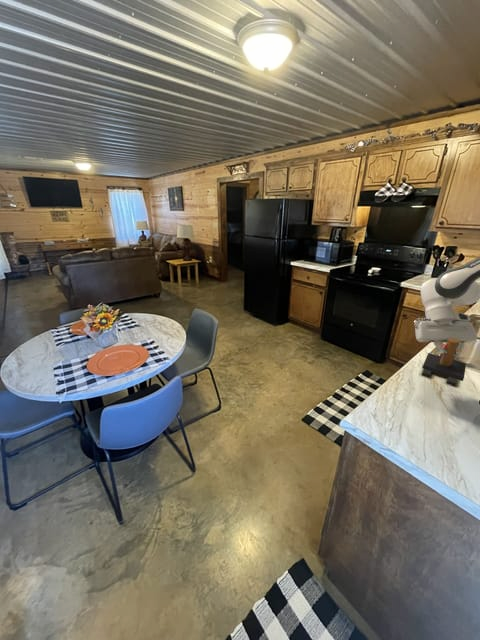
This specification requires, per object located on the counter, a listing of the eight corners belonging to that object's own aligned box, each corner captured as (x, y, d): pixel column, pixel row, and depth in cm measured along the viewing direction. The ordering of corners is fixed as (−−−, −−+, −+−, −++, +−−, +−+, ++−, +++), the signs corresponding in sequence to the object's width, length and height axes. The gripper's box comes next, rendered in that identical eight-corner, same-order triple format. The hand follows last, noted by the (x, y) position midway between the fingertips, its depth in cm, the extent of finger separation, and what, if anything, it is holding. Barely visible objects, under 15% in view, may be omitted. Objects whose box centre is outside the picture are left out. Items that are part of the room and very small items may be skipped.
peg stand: (428, 352, 109) (437, 327, 104) (465, 362, 102) (476, 336, 97) (422, 368, 98) (431, 341, 93) (462, 381, 91) (474, 352, 86)
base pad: (425, 364, 124) (426, 361, 124) (457, 374, 117) (458, 371, 116) (421, 375, 116) (422, 372, 115) (455, 386, 109) (456, 383, 108)
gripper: (418, 314, 98) (426, 350, 93) (474, 315, 97) (486, 352, 92) (408, 321, 104) (416, 355, 99) (461, 322, 103) (471, 356, 98)
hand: (450, 353), depth 95 cm, fingers closed on peg stand, 3 cm apart
